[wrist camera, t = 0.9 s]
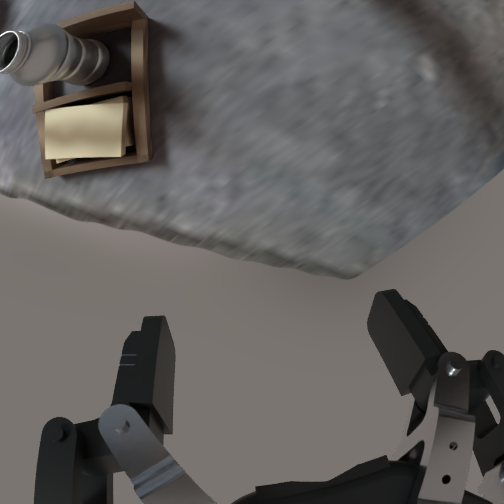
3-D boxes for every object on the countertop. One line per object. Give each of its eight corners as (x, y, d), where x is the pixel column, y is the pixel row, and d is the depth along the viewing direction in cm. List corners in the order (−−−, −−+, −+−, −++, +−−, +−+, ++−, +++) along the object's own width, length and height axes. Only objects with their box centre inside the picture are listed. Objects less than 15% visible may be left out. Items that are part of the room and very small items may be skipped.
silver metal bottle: (72, 46, 26) (-19, 29, 9) (117, 38, 27) (41, 2, 10) (69, 88, 29) (-26, 99, 12) (113, 82, 30) (30, 79, 13)
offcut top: (52, 108, 27) (45, 109, 25) (128, 102, 29) (123, 103, 27) (52, 155, 30) (45, 159, 28) (125, 153, 32) (120, 156, 30)
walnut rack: (44, 46, 24) (15, 41, 17) (148, 17, 26) (134, 0, 19) (54, 172, 34) (27, 190, 28) (153, 156, 36) (140, 171, 29)
